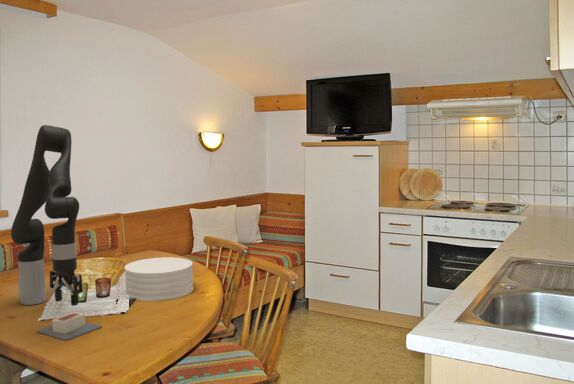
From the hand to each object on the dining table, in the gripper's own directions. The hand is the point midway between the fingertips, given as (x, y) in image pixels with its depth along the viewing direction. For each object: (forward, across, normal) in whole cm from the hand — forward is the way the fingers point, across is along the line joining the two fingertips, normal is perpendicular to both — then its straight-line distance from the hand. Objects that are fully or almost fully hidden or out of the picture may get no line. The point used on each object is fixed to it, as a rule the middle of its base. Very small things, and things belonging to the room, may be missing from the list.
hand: (66, 303), depth 182 cm
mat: (+9, 0, 0) cm, 9 cm away
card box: (+9, 0, 0) cm, 9 cm away
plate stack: (+10, +7, -50) cm, 51 cm away
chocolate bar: (+10, +5, -26) cm, 28 cm away
